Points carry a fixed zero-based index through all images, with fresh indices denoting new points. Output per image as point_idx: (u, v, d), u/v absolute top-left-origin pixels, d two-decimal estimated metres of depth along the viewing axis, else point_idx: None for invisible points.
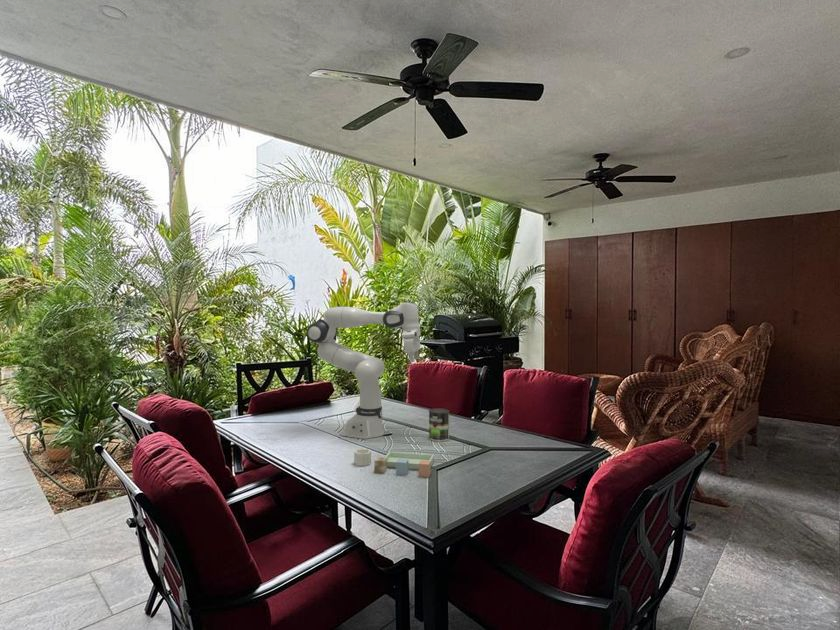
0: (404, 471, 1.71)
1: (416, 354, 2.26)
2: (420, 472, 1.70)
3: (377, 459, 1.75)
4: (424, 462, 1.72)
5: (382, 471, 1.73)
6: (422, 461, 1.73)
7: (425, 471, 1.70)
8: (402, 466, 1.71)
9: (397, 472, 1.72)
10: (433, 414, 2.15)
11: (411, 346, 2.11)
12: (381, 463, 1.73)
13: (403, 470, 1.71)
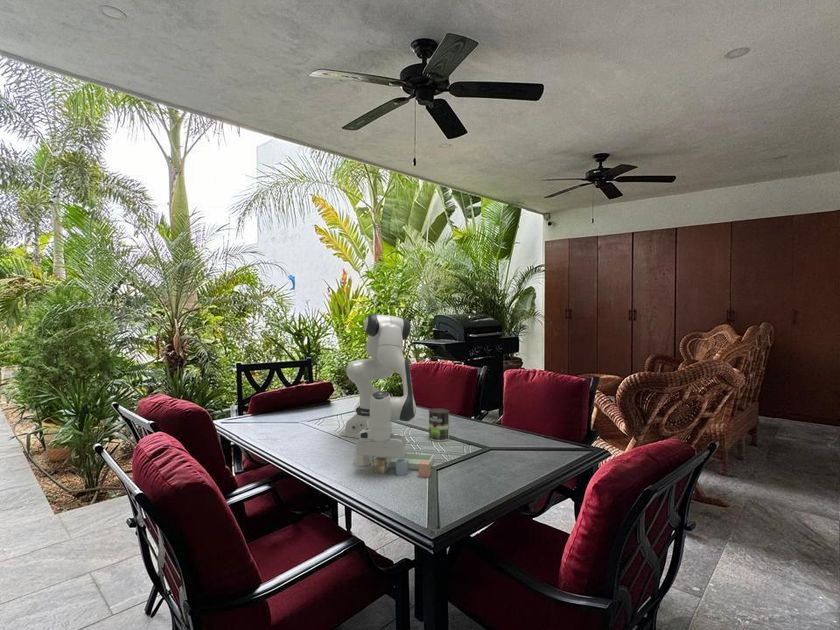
0: (404, 471, 1.71)
1: (388, 461, 1.74)
2: (420, 472, 1.70)
3: (377, 459, 1.75)
4: (424, 462, 1.72)
5: (382, 471, 1.73)
6: (422, 461, 1.73)
7: (425, 471, 1.70)
8: (402, 466, 1.71)
9: (397, 472, 1.72)
10: (433, 414, 2.15)
11: (356, 447, 1.76)
12: (381, 463, 1.73)
13: (403, 470, 1.71)
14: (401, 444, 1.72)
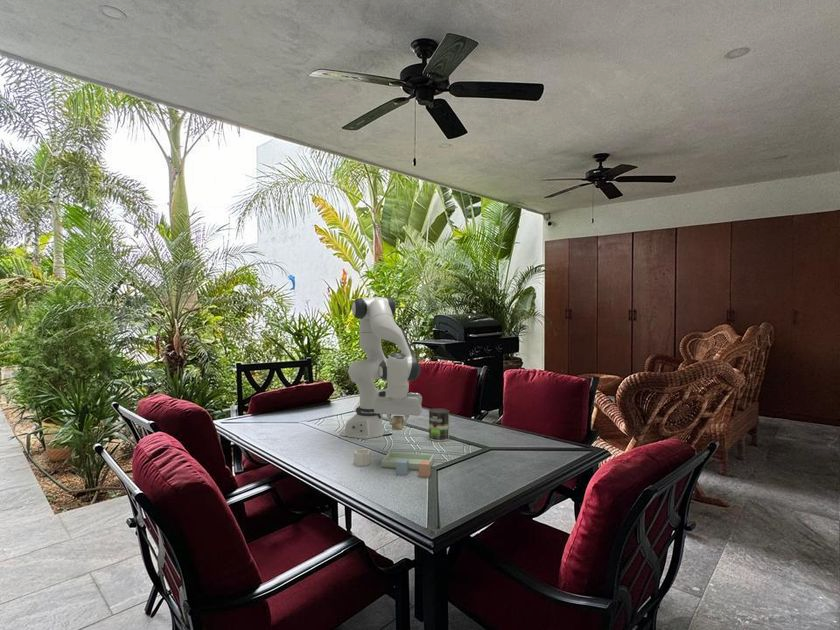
0: (404, 471, 1.71)
1: (405, 419, 1.83)
2: (420, 472, 1.70)
3: (394, 417, 1.83)
4: (424, 462, 1.72)
5: (399, 428, 1.82)
6: (422, 461, 1.73)
7: (425, 471, 1.70)
8: (402, 466, 1.71)
9: (397, 472, 1.72)
10: (433, 414, 2.15)
11: (374, 405, 1.84)
12: (398, 421, 1.82)
13: (403, 470, 1.71)
14: (417, 402, 1.80)
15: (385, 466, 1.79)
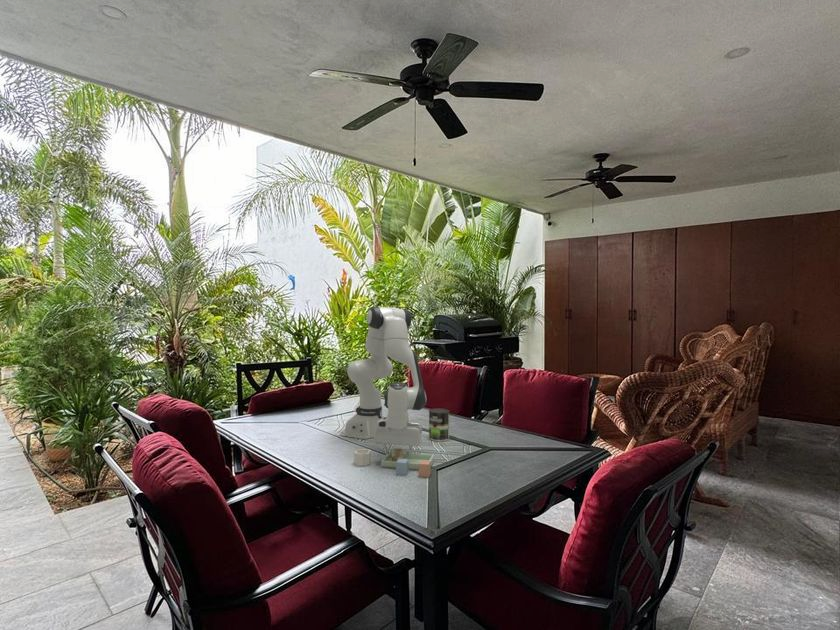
0: (404, 471, 1.71)
1: None
2: (420, 472, 1.70)
3: (394, 450, 1.84)
4: (424, 462, 1.72)
5: None
6: (422, 461, 1.73)
7: (425, 471, 1.70)
8: (402, 466, 1.71)
9: (397, 472, 1.72)
10: (433, 414, 2.15)
11: (374, 435, 1.85)
12: (398, 454, 1.82)
13: (403, 470, 1.71)
14: (417, 432, 1.81)
15: (385, 466, 1.79)
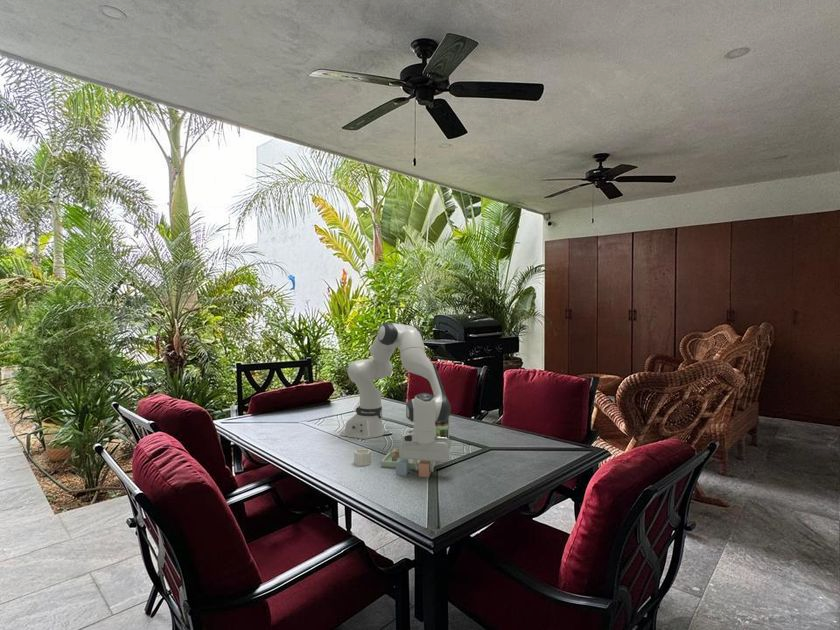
0: (404, 471, 1.71)
1: (432, 465, 1.71)
2: (420, 472, 1.70)
3: (394, 450, 1.84)
4: (424, 462, 1.72)
5: None
6: (422, 461, 1.73)
7: (425, 471, 1.70)
8: (402, 466, 1.71)
9: (397, 472, 1.72)
10: None
11: (399, 450, 1.72)
12: (398, 454, 1.82)
13: (403, 470, 1.71)
14: (446, 447, 1.68)
15: (385, 466, 1.79)
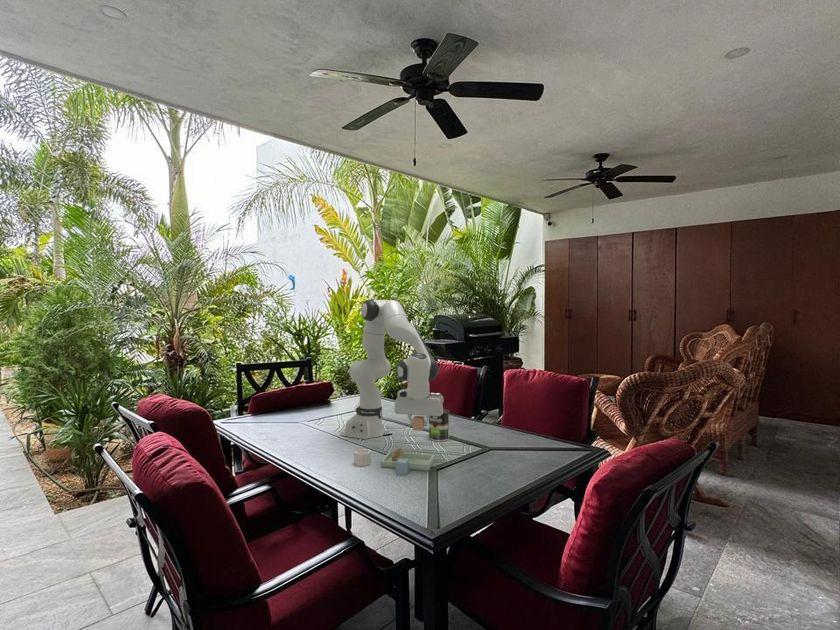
0: (404, 471, 1.71)
1: (426, 420, 1.81)
2: (414, 426, 1.80)
3: (394, 450, 1.84)
4: (418, 417, 1.82)
5: None
6: (416, 416, 1.83)
7: (419, 425, 1.80)
8: (402, 466, 1.71)
9: (397, 472, 1.72)
10: None
11: (395, 406, 1.82)
12: (398, 454, 1.82)
13: (403, 470, 1.71)
14: (439, 402, 1.78)
15: (385, 466, 1.79)
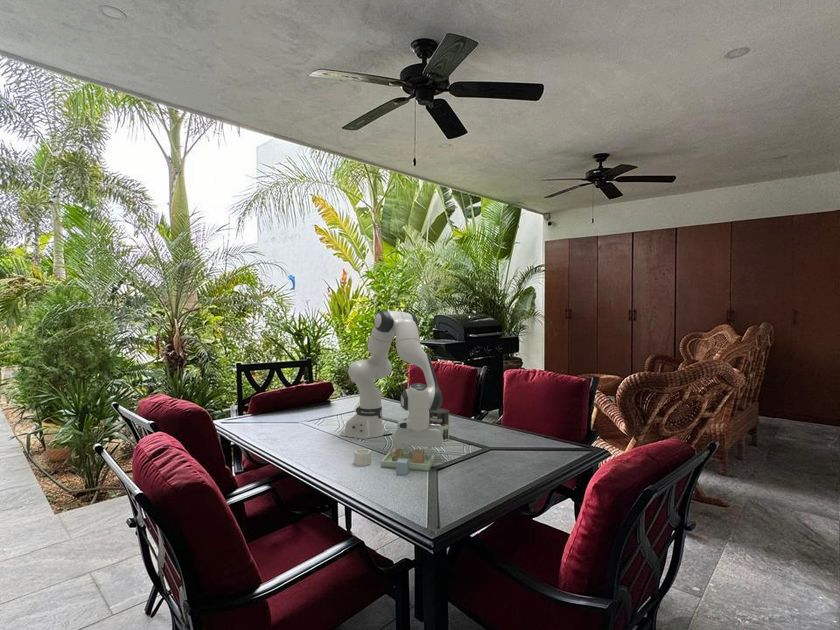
0: (404, 471, 1.71)
1: (428, 451, 1.81)
2: (414, 460, 1.81)
3: (394, 450, 1.84)
4: (418, 451, 1.82)
5: None
6: (416, 450, 1.83)
7: (419, 459, 1.80)
8: (402, 466, 1.71)
9: (397, 472, 1.72)
10: (433, 414, 2.15)
11: (395, 436, 1.83)
12: (398, 454, 1.82)
13: (403, 470, 1.71)
14: (439, 434, 1.79)
15: (385, 466, 1.79)
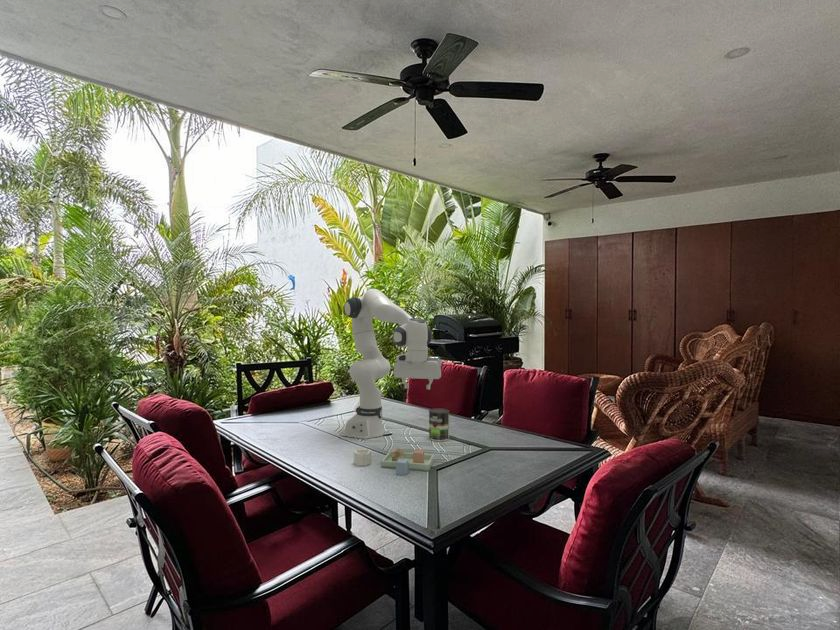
0: (404, 471, 1.71)
1: (429, 383, 1.85)
2: (414, 460, 1.81)
3: (394, 450, 1.84)
4: (418, 451, 1.82)
5: None
6: (416, 450, 1.83)
7: (419, 459, 1.80)
8: (402, 466, 1.71)
9: (397, 472, 1.72)
10: (433, 414, 2.15)
11: (394, 370, 1.86)
12: (398, 454, 1.82)
13: (403, 470, 1.71)
14: (437, 365, 1.82)
15: (385, 466, 1.79)
